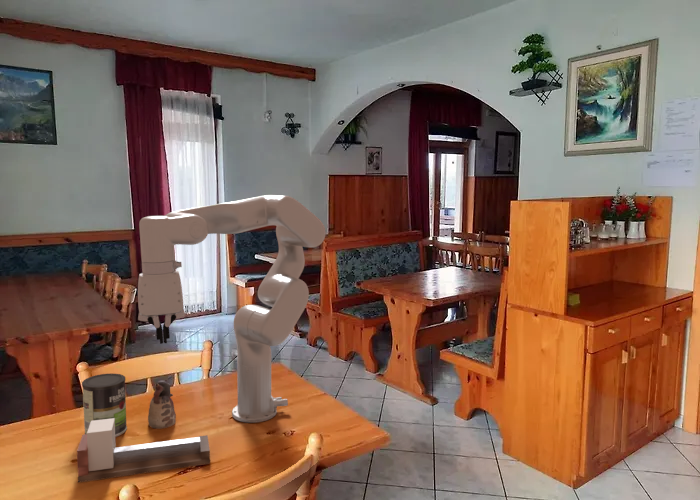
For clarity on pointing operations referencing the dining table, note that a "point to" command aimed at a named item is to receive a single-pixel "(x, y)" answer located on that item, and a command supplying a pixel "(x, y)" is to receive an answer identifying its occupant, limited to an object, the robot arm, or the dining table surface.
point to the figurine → (161, 407)
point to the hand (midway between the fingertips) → (163, 341)
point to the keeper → (101, 444)
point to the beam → (156, 450)
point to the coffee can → (105, 400)
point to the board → (139, 463)
